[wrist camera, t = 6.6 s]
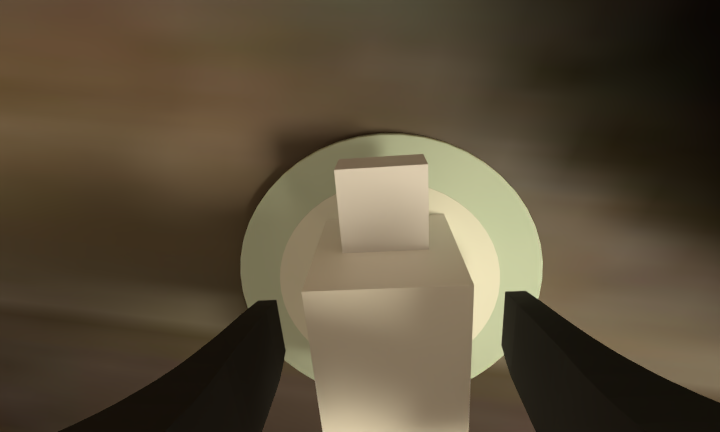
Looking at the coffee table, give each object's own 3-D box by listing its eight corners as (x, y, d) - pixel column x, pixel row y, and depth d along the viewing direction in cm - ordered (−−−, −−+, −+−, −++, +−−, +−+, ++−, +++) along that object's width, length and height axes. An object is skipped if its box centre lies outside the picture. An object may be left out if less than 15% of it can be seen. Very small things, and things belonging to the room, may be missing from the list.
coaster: (552, 121, 12) (561, 124, 12) (524, 386, 16) (530, 398, 16) (217, 144, 13) (210, 147, 13) (269, 391, 17) (266, 402, 17)
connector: (443, 355, 15) (467, 467, 11) (342, 358, 15) (328, 467, 11) (444, 142, 12) (478, 184, 8) (318, 150, 12) (286, 195, 8)
